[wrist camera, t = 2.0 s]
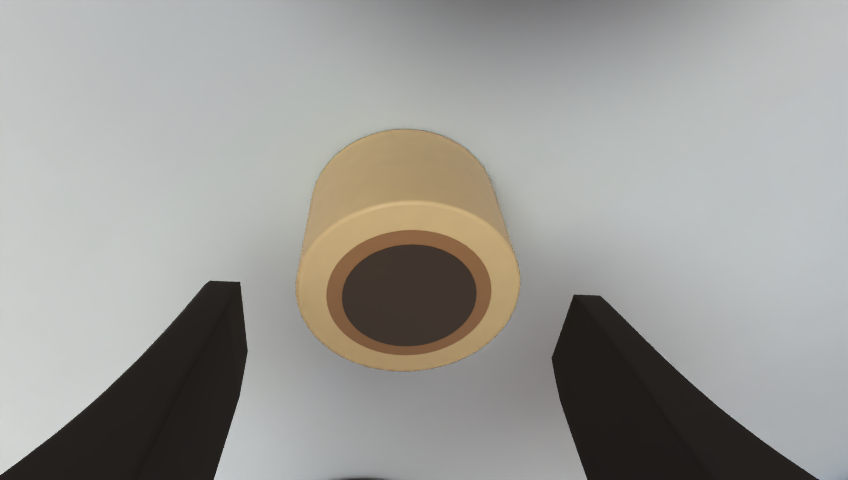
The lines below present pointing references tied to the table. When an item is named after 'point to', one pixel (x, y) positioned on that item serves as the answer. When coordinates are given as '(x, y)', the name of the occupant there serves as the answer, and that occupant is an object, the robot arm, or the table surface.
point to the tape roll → (406, 254)
